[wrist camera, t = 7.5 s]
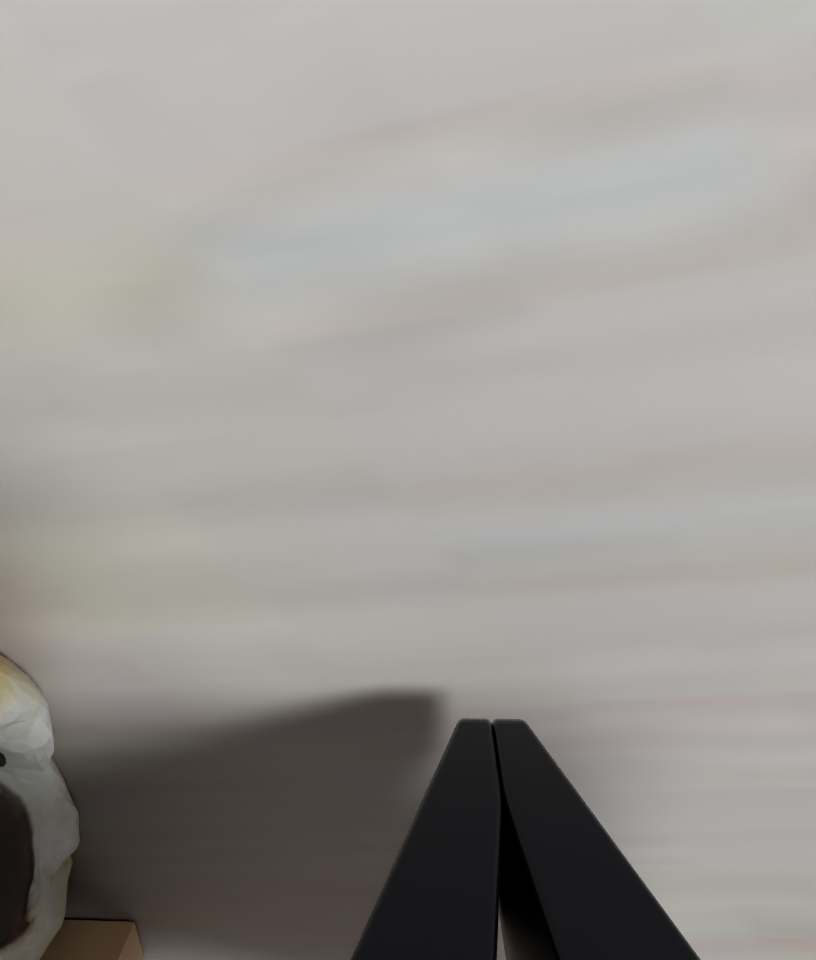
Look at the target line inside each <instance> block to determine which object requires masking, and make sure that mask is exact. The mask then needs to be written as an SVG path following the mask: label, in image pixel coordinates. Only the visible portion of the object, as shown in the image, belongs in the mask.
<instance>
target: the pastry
mask: <svg viewBox="0 0 816 960" xmlns="http://www.w3.org/2000/svg"><path fill="white" fill-rule="evenodd" d="M53 753H54V737H53V730H52V723H51V718H50V712H49V707H48V703H47V700H46V698H45V697H44V695H43V693H42V692H41V690H40V689H39V688H38V687H37V686H36V685H35V683H34V682H33V681H32V680H31V679H30V677H29V676H28V675H27V674H26V673H24V672H23V671H22V670H21V669H20V668H18V667H17V666H16V665H15V664H14V663H13V662H12V661H11V660H9V659H7V658H5V657H3V656H1V655H0V960H40V958H41V957H42V955H43V954H44V952H45V950H46V948H47V947H48V945H49V944H50V942H51V941H52V939H53V938H54V936H55V935H56V933H57V932H58V931H59V929H60V928H61V926H62V923H63V920H64V917H65V911H66V897H67V884H68V878H69V874H70V870H71V867H72V864H73V862H72V859H71V856H70V855H71V854H72V853H73V852H74V851H75V850H76V849H77V847H78V845H79V842H80V835H79V815H78V810H77V808H76V806H75V804H74V802H73V800H72V798H71V796H70V794H69V791H68V789H67V786H66V783H65V781H64V778H63V776H62V774H61V773H60V771H59V770H58V767H57V765H56V763H55V762H54V760H53V758H52V755H53Z"/></svg>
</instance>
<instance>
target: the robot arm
mask: <svg viewBox="0 0 816 960" xmlns="http://www.w3.org/2000/svg"><path fill="white" fill-rule="evenodd" d="M499 914H500V922H501V928H502V935H503V942H504V948H505V953H506V959H507V960H700V958H699V957H698V956H697V954H696V953H695V952H694V950H693V949H692V947H691V946H690V945H689V943H688V942H687V941H686V939H685V938H684V937H683V935H682V934H681V933H680V931H679V930H678V928H677V927H676V926H675V924H674V923H673V922H672V920H671V919H670V918H669V916H668V915H667V913H666V912H665V911H664V909H663V908H662V907H661V905H660V904H659V903H658V901H657V900H656V898H655V897H654V896H653V894H652V893H651V892H650V890H649V889H648V888H647V886H646V885H645V884H644V882H643V881H642V879H641V878H640V877H639V875H638V874H637V873H636V871H635V870H634V869H633V867H632V866H631V864H630V863H629V862H628V860H627V859H626V858H625V856H624V855H623V854H622V852H621V851H620V850H619V848H618V847H617V845H616V844H615V843H614V841H613V840H612V839H611V837H610V836H609V835H608V833H607V832H606V830H605V829H604V828H603V826H602V825H601V824H600V822H599V821H598V820H597V818H596V817H595V815H594V814H593V813H592V811H591V810H590V809H589V807H588V806H587V805H586V803H585V802H584V801H583V799H582V798H581V796H580V795H579V794H578V792H577V791H576V790H575V788H574V787H573V786H572V784H571V783H570V781H569V780H568V779H567V777H566V776H565V775H564V773H563V772H562V771H561V769H560V768H559V767H558V765H557V764H556V762H555V761H554V760H553V758H552V757H551V756H550V754H549V753H548V752H547V750H546V749H545V747H544V746H543V745H542V743H541V742H540V741H539V739H538V738H537V737H536V735H535V734H534V732H533V731H532V730H531V728H530V727H529V726H528V724H527V723H526V722H525V721H523V720H520V719H496V720H494V721H493V723H492V724H491V722H490V721H489V720H488V719H461V720H459V722H458V723H457V725H456V727H455V729H454V731H453V734H452V736H451V738H450V740H449V743H448V745H447V747H446V749H445V751H444V754H443V756H442V758H441V760H440V763H439V765H438V767H437V769H436V771H435V774H434V776H433V778H432V780H431V783H430V785H429V787H428V789H427V791H426V794H425V796H424V798H423V800H422V803H421V805H420V807H419V809H418V811H417V814H416V816H415V818H414V820H413V823H412V825H411V827H410V829H409V831H408V834H407V836H406V838H405V840H404V843H403V845H402V847H401V849H400V851H399V854H398V856H397V858H396V860H395V863H394V865H393V867H392V869H391V871H390V874H389V876H388V878H387V880H386V882H385V885H384V887H383V889H382V891H381V894H380V896H379V898H378V900H377V902H376V905H375V907H374V909H373V911H372V914H371V916H370V918H369V920H368V922H367V925H366V927H365V929H364V931H363V934H362V936H361V938H360V940H359V942H358V945H357V947H356V949H355V951H354V954H353V956H352V958H351V960H497V939H498V915H499Z"/></svg>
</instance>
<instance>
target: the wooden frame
mask: <svg viewBox="0 0 816 960" xmlns="http://www.w3.org/2000/svg"><path fill="white" fill-rule="evenodd" d="M143 958H144V954H143V951H142V947H141V944H140V940H139V937H138V933H137V930H136V926H135V923H134V922H119V921H90V920H63V923H62V926H61V928H60V929H59V931H58V932H57V933H56V935H55V936H54V938H53V939H52V941H51V942H50V944H49V945H48V947H47V948H46V950H45V952H44V954H43V955H42V957H41V958H40V960H143Z"/></svg>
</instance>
